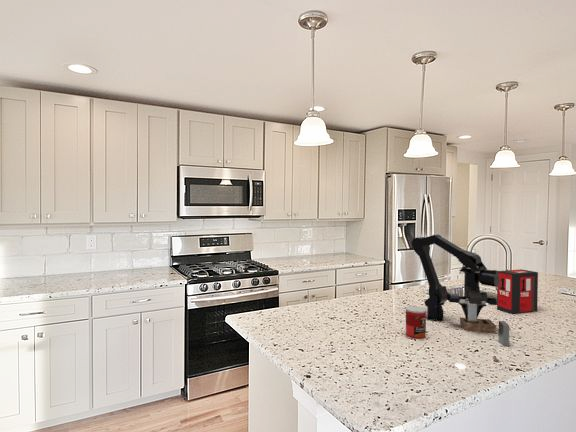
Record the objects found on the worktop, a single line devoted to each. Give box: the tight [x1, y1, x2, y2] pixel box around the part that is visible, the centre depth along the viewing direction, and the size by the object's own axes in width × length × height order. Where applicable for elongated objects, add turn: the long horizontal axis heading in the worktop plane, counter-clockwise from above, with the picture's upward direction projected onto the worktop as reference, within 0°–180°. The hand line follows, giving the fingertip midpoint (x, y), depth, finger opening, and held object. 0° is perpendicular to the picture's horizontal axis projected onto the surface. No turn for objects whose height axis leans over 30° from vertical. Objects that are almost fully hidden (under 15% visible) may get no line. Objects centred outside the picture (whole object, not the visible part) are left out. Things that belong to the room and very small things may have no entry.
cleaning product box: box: [496, 268, 539, 316], centre depth 184 cm, size 16×9×20 cm, turn 108°
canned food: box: [405, 305, 427, 340], centre depth 147 cm, size 8×8×11 cm
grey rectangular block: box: [497, 320, 510, 347], centre depth 138 cm, size 2×5×8 cm, turn 166°
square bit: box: [465, 302, 478, 323], centre depth 157 cm, size 4×4×10 cm
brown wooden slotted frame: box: [459, 317, 497, 334], centre depth 156 cm, size 12×9×3 cm
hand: (471, 318), depth 157 cm, fingers closed on square bit, 3 cm apart
